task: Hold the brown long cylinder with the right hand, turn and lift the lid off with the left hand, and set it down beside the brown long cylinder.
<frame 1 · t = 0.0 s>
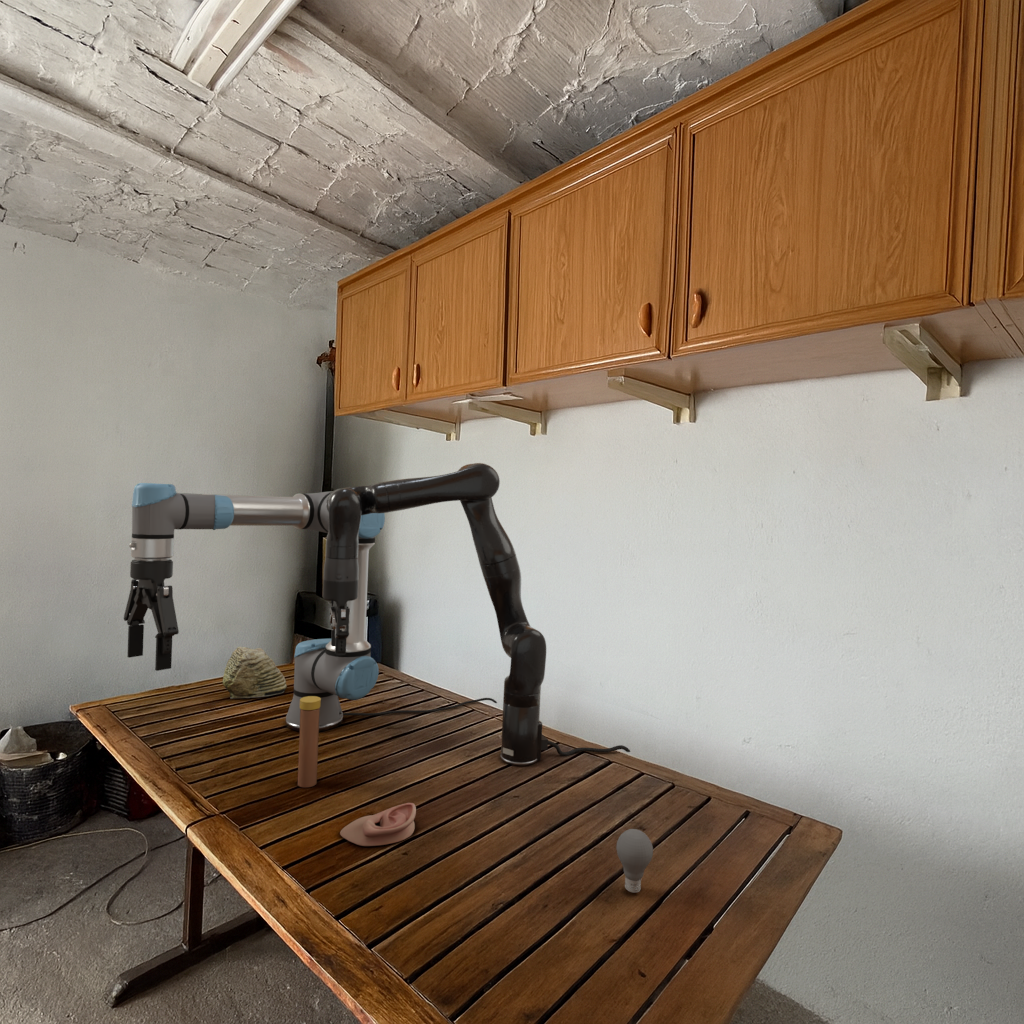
left hand: (148, 662, 129), 28 cm above the table, tool pointing down, fingers open, 13 cm apart
right hand: (338, 650, 141), 29 cm above the table, tool pointing down, fingers open, 8 cm apart
lid: (310, 700, 139), point 18 cm above the table, screwed on, not yet turned
anatomical model: (378, 832, 121), on the table
light bulb: (632, 891, 106), on the table
fossil: (254, 694, 198), on the table
brown long cylinder: (307, 783, 140), on the table
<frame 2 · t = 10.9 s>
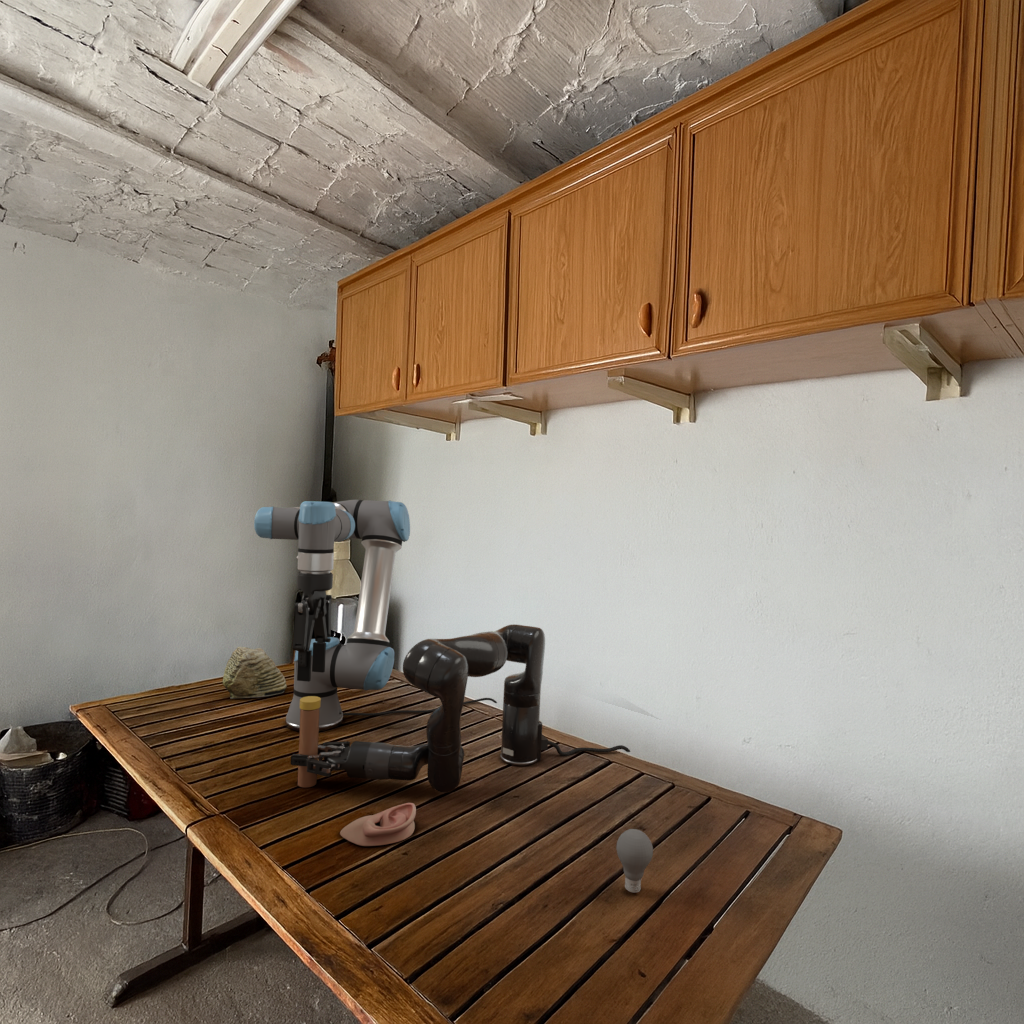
left hand: (311, 675, 139), 24 cm above the table, tool pointing down, fingers open, 7 cm apart
right hand: (296, 755, 140), 6 cm above the table, tool horizontal, fingers closed on brown long cylinder, 4 cm apart
brown long cylinder: (307, 783, 140), on the table, touching right hand
everything else where it was.
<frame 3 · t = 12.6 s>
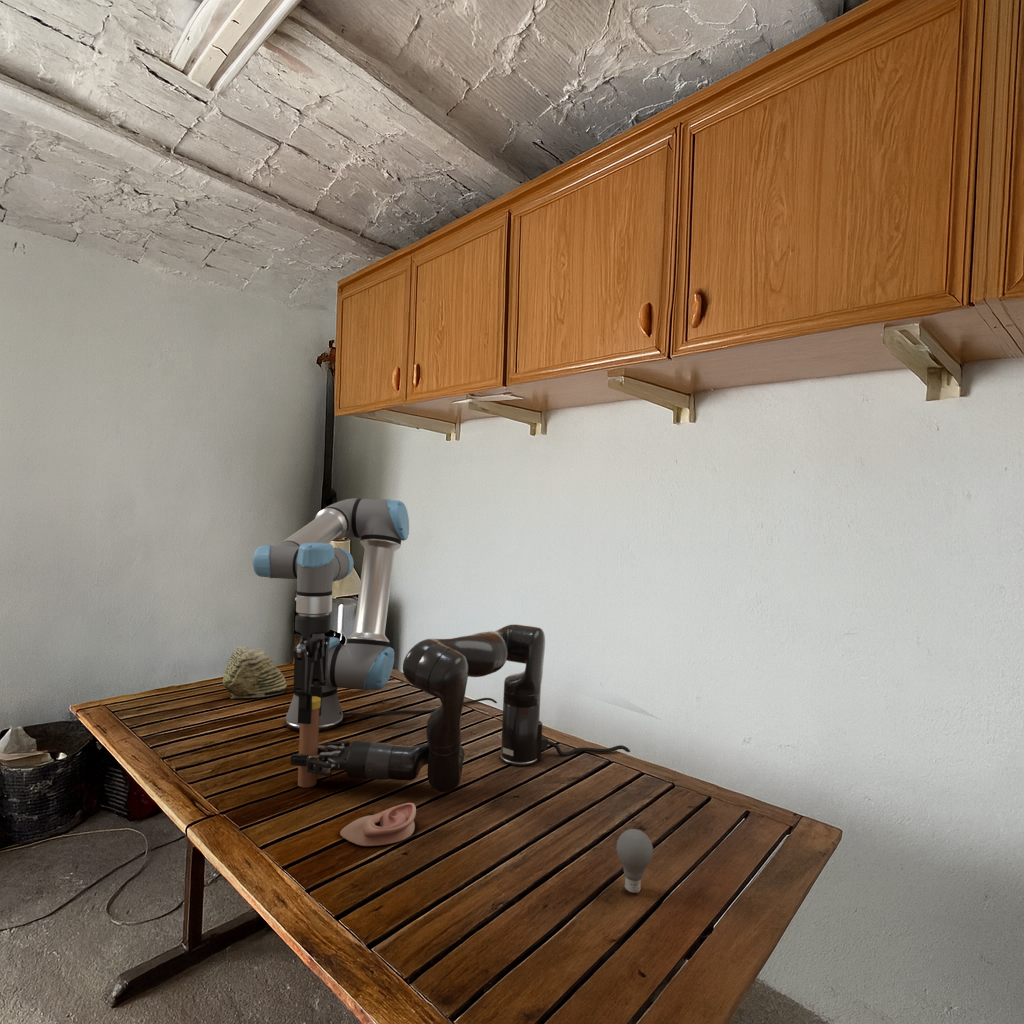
left hand: (309, 719, 139), 14 cm above the table, tool pointing down, fingers closed on lid, 4 cm apart
right hand: (296, 755, 140), 6 cm above the table, tool horizontal, fingers closed on brown long cylinder, 4 cm apart
lid: (310, 700, 139), point 18 cm above the table, screwed on, not yet turned, touching left hand
brown long cylinder: (307, 783, 140), on the table, touching right hand
everything else where it was.
when the left hand's fingers open (15 cm above the table, at t = 13.9 s): lid stays where it is, point 19 cm above the table.
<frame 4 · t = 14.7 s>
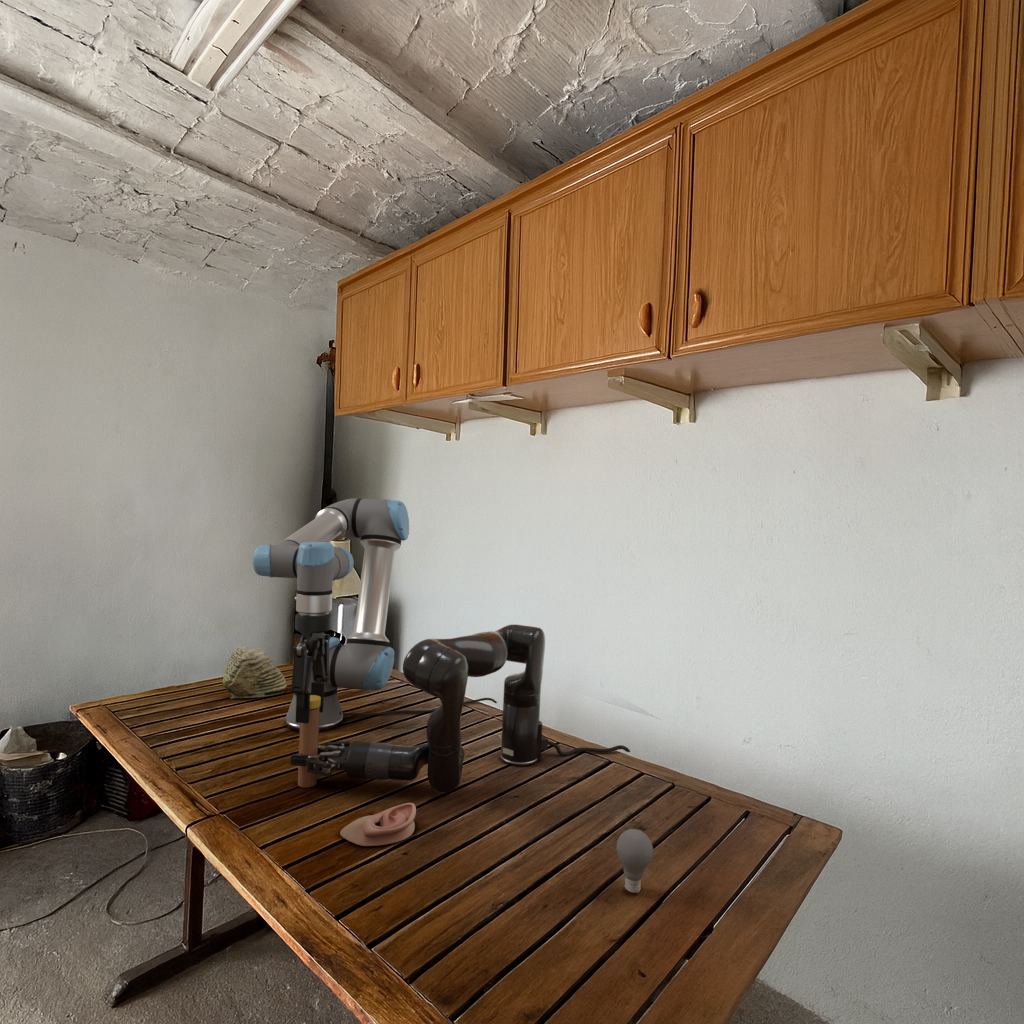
left hand: (309, 716, 139), 15 cm above the table, tool pointing down, fingers open, 7 cm apart
right hand: (296, 755, 140), 6 cm above the table, tool horizontal, fingers closed on brown long cylinder, 4 cm apart
lid: (310, 699, 139), point 19 cm above the table, turned 77° so far, risen 0.2 cm, still on its thread
brown long cylinder: (307, 783, 140), on the table, touching right hand
everything else where it was.
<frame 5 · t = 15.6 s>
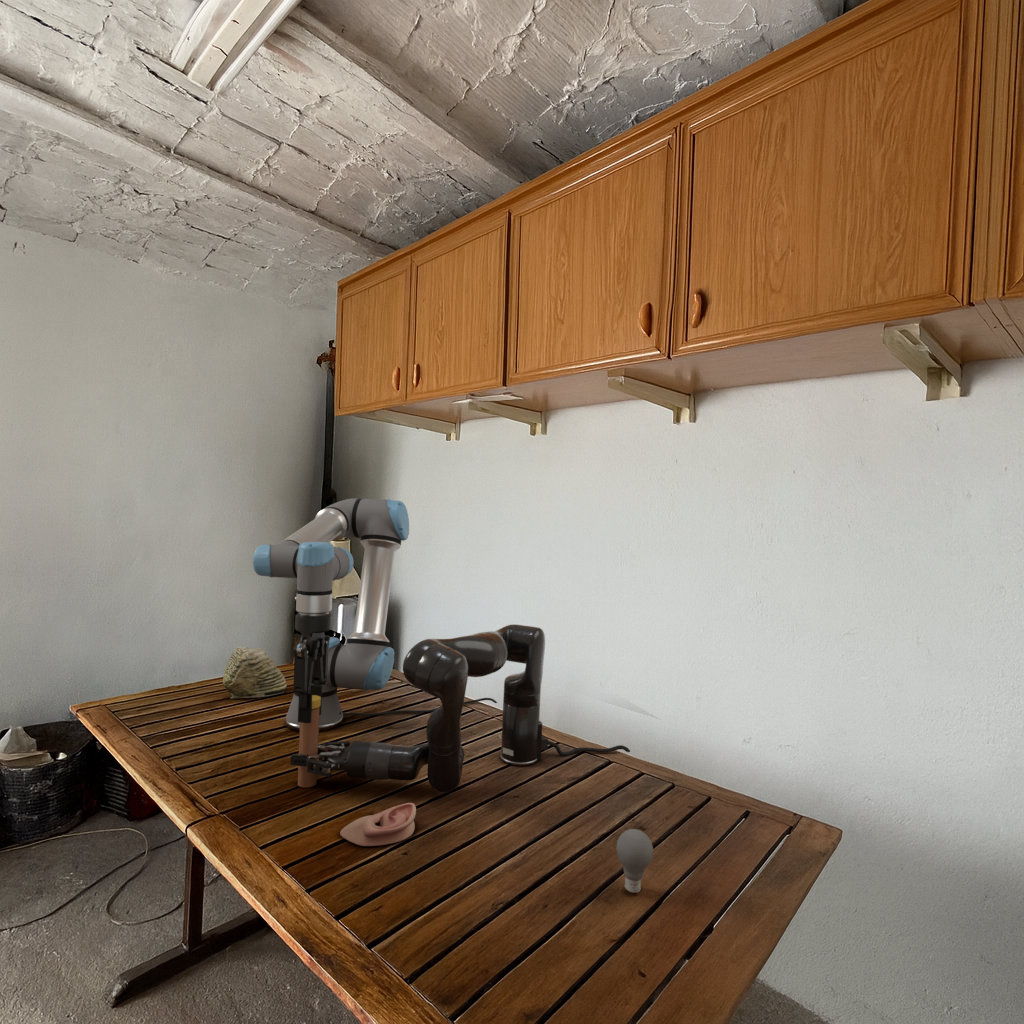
left hand: (309, 718, 139), 15 cm above the table, tool pointing down, fingers closed on lid, 4 cm apart
right hand: (296, 755, 140), 6 cm above the table, tool horizontal, fingers closed on brown long cylinder, 4 cm apart
lid: (310, 699, 139), point 19 cm above the table, turned 77° so far, risen 0.2 cm, still on its thread, touching left hand
brown long cylinder: (307, 783, 140), on the table, touching right hand
everything else where it was.
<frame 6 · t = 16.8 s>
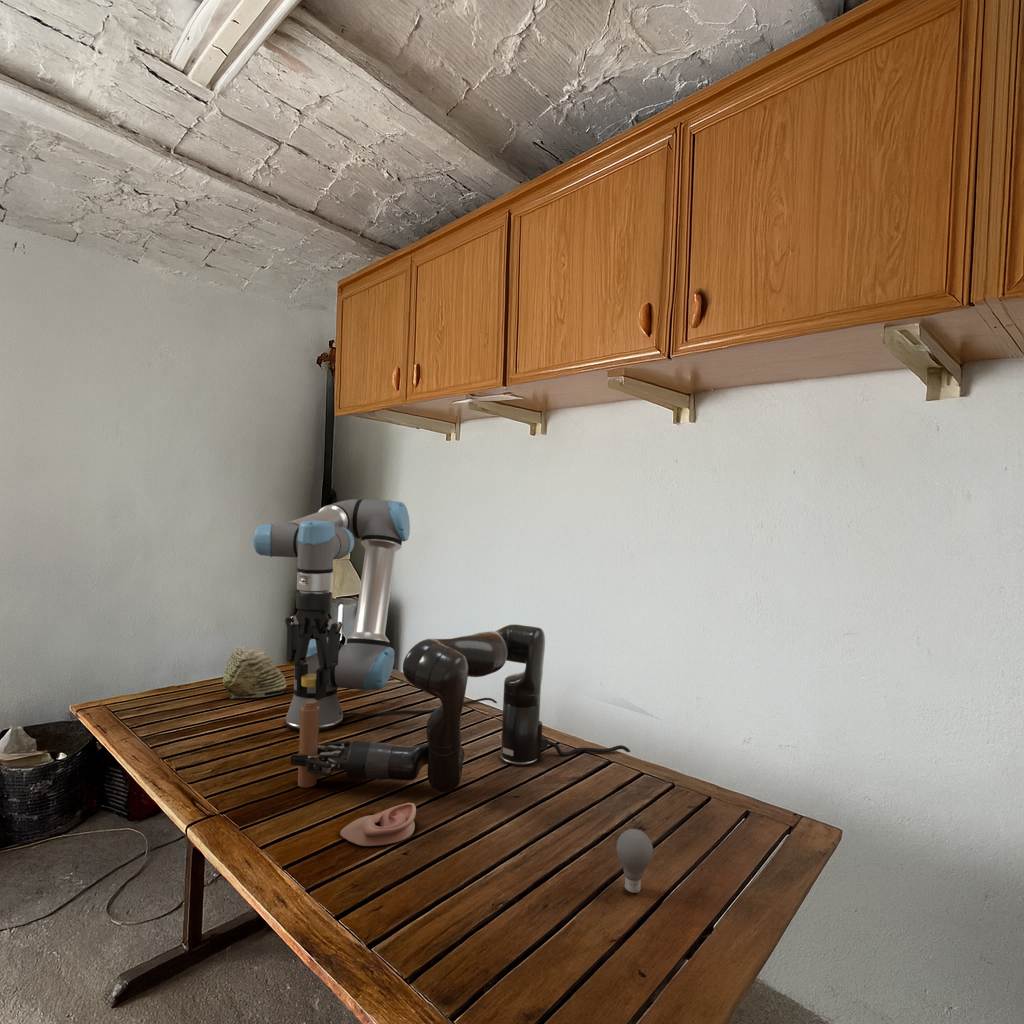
left hand: (311, 696, 140), 19 cm above the table, tool pointing down, fingers closed on lid, 4 cm apart
right hand: (296, 755, 140), 6 cm above the table, tool horizontal, fingers closed on brown long cylinder, 4 cm apart
lid: (311, 678, 140), point 23 cm above the table, off its thread, touching left hand
brown long cylinder: (307, 783, 140), on the table, touching right hand
everything else where it was.
when the left hand's fingers open (0 cm above the table, at t = 22.3 s): lid drops 3 cm, point 1 cm above the table.
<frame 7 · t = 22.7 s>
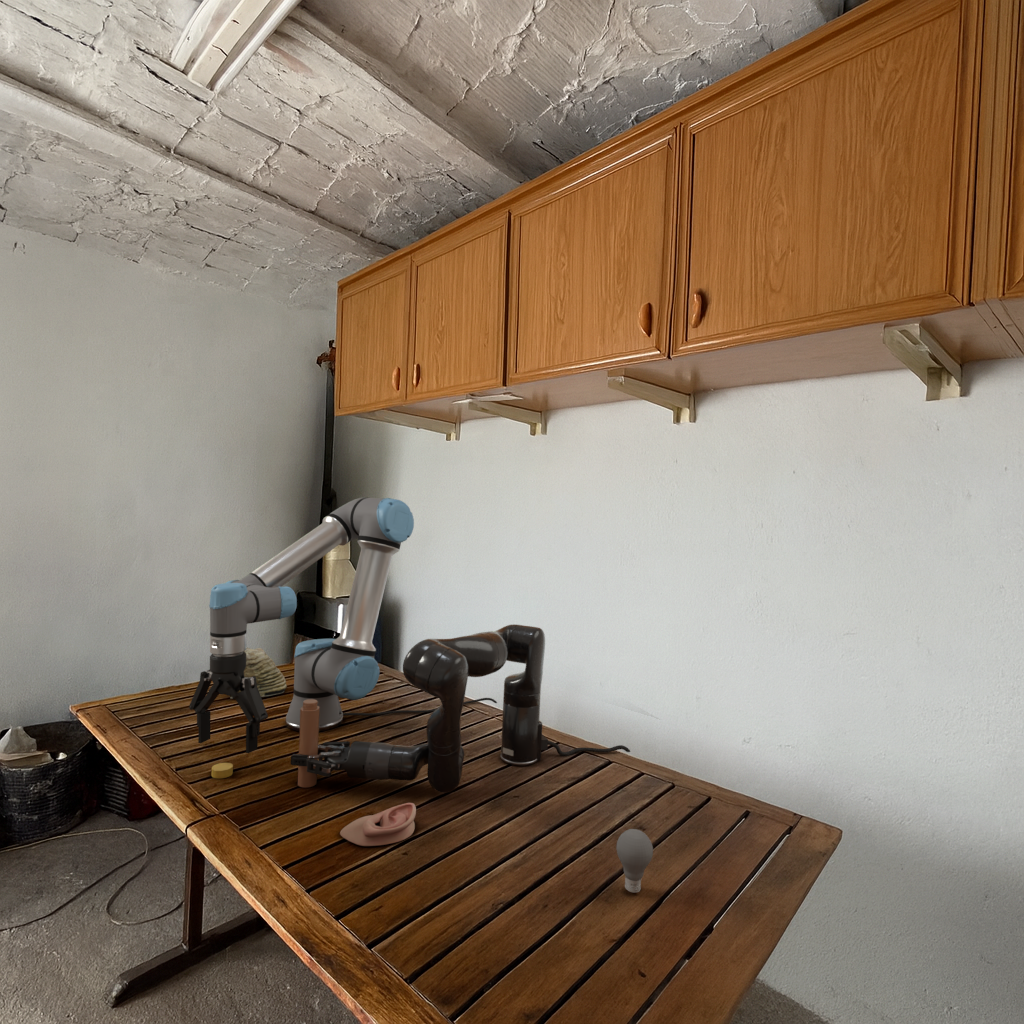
left hand: (227, 745, 143), 6 cm above the table, tool pointing down, fingers open, 13 cm apart
right hand: (296, 755, 140), 6 cm above the table, tool horizontal, fingers closed on brown long cylinder, 4 cm apart
lid: (222, 768, 142), point 1 cm above the table, off its thread
brown long cylinder: (307, 783, 140), on the table, touching right hand
everything else where it was.
when the right hand's fingers open (6 cm above the table, at t = 22.8 s): brown long cylinder stays where it is, on the table.
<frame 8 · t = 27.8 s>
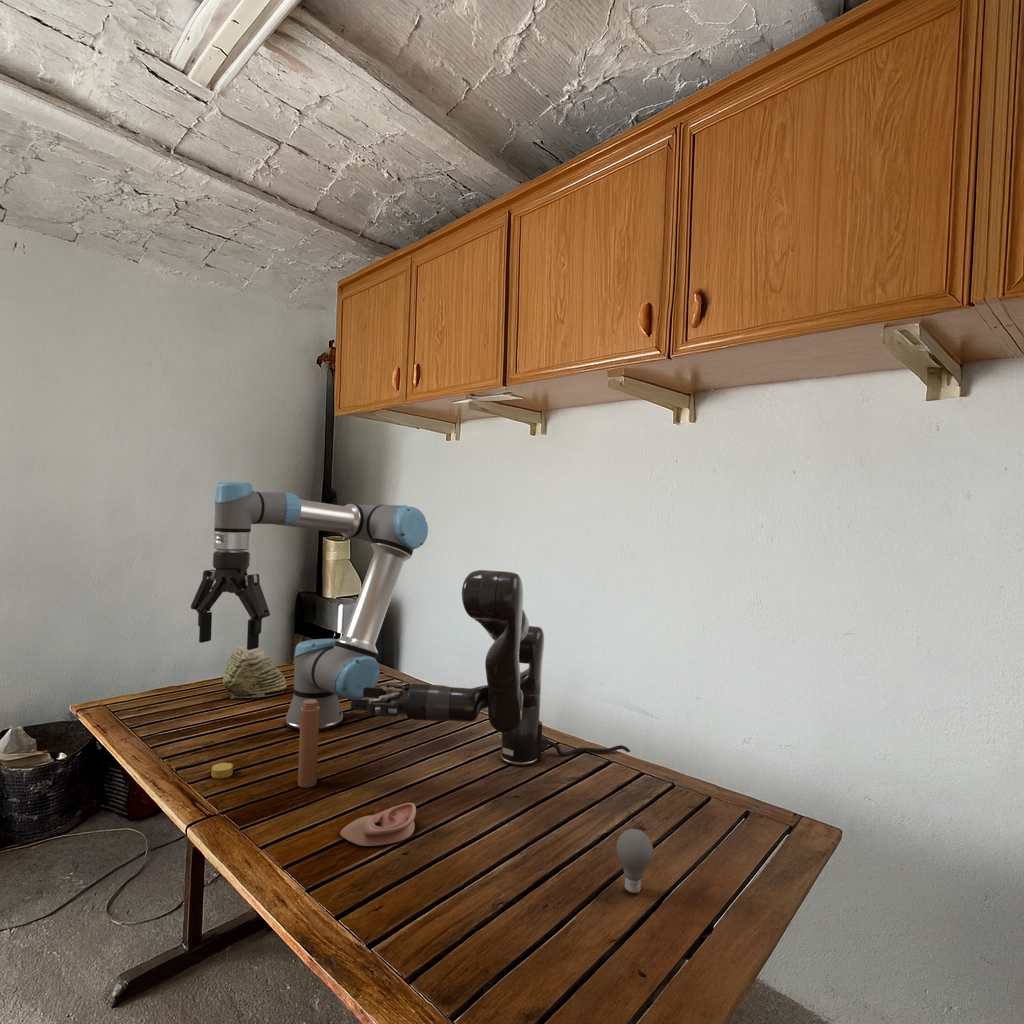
left hand: (228, 645, 142), 29 cm above the table, tool pointing down, fingers open, 13 cm apart
right hand: (357, 697, 139), 20 cm above the table, tool horizontal, fingers open, 8 cm apart
brown long cylinder: (307, 783, 140), on the table
everything else where it was.
at the end: lid came off its thread; lid point 1.4 cm above the table; the left hand is holding nothing; the right hand is holding nothing; brown long cylinder tilted 0°; brown long cylinder moved 0.0 cm from its start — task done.
